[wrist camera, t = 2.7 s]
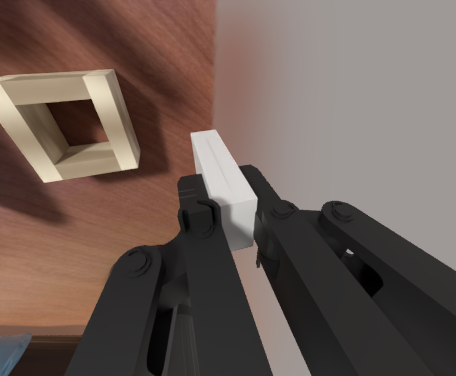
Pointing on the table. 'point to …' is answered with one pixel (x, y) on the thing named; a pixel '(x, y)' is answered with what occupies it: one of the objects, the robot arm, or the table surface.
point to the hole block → (50, 132)
